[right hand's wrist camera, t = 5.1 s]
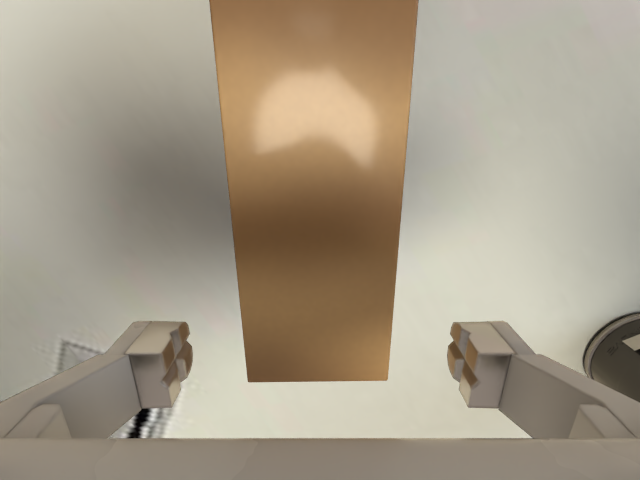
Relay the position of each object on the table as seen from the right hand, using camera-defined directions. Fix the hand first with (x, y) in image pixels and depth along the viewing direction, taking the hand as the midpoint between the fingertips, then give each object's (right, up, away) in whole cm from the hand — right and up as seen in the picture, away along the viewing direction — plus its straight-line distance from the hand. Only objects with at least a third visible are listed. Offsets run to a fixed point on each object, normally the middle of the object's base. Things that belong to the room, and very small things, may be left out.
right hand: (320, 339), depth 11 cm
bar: (0, +11, +8) cm, 14 cm away
